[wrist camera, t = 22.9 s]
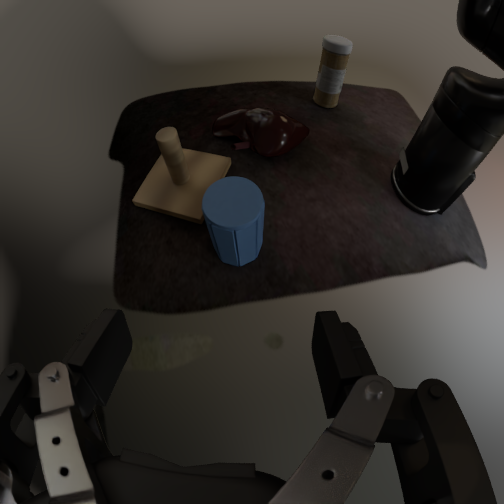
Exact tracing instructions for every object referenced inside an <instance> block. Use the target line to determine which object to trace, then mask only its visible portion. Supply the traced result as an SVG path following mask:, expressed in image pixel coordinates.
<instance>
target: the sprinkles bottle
mask: <svg viewBox="0 0 504 504" xmlns="http://www.w3.org/2000/svg"><path fill="white" fill-rule="evenodd" d="M322 46H323V50H322V56H321V61H320V66H319V71H318V77H317V81H316V89H315V94H314V97H313V100H314V101H315V103H316V104H318V105H320V106H322V107H325V108H333V107H336V106H337V104H338V97H339V93H340V91H341V88H342V84H343V80H344V76H345V72H346V66H347V62H348V58H349V55H350V53H351V50H352V42H351V41H350V40H348V39H346V38H344V37H341V36H337V35H325V36H324V38H323V43H322Z"/></svg>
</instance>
